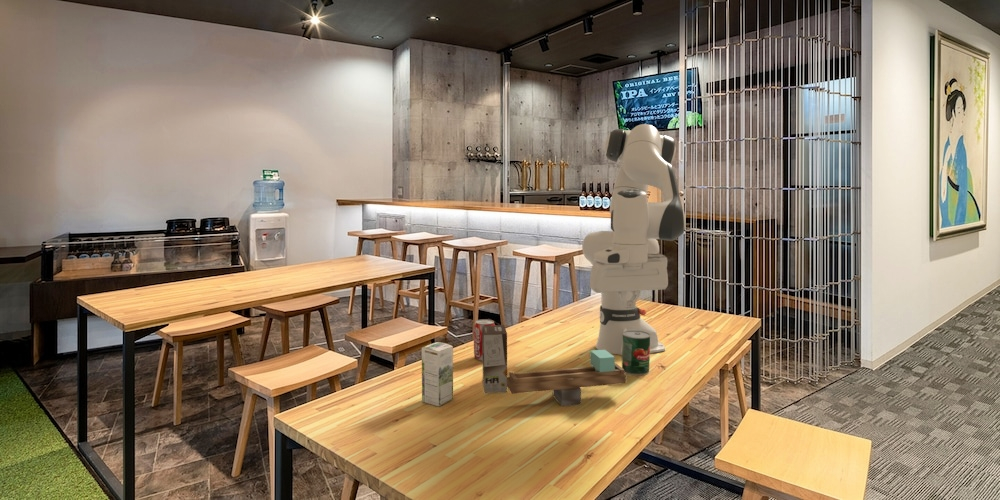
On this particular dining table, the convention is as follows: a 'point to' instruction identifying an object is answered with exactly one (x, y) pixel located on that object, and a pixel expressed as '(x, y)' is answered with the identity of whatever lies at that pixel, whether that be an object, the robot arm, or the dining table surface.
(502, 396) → the dining table surface
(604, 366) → the block
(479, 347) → the soda can
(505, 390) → the coffee box
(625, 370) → the canned tomato
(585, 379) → the beam
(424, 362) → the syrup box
